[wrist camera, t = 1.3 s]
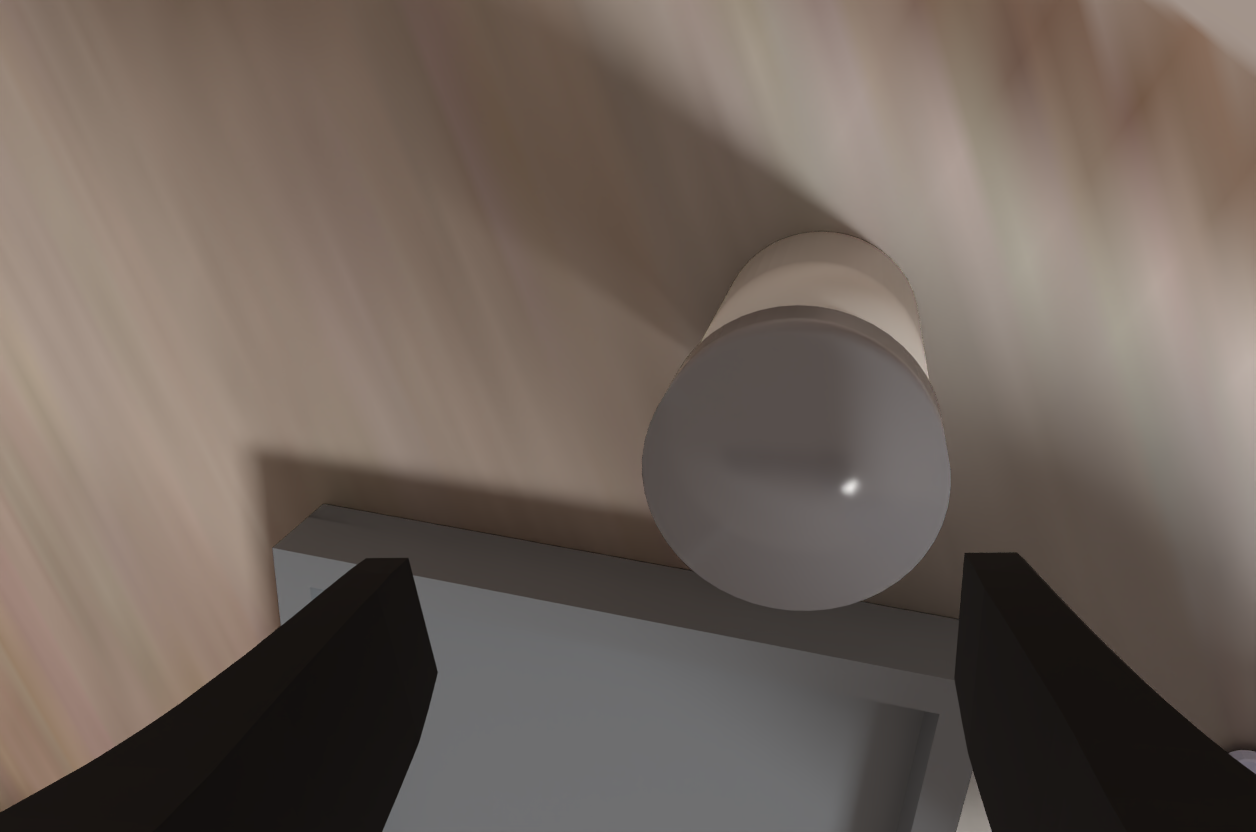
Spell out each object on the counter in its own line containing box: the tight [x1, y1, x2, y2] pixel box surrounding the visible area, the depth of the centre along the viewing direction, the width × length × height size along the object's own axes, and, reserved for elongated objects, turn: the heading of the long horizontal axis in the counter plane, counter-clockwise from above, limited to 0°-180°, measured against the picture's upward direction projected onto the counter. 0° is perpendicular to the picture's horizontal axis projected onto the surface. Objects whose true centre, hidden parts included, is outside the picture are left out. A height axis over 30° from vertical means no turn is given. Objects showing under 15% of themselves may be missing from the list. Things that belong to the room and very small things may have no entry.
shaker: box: [642, 231, 951, 611], centre depth 18 cm, size 5×5×8 cm
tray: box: [272, 504, 973, 832], centre depth 27 cm, size 18×16×2 cm
